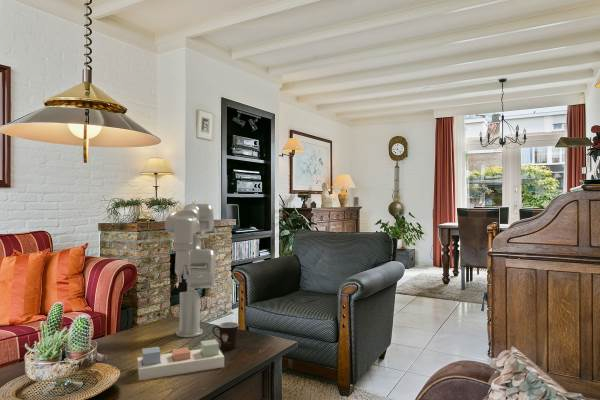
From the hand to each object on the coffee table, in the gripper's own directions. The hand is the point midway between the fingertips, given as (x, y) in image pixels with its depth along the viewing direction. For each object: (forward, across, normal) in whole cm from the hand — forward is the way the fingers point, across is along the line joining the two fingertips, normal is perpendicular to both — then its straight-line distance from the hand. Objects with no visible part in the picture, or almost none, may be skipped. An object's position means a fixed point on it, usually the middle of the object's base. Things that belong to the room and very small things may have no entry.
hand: (182, 291), depth 170 cm
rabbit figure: (+28, -10, -36) cm, 46 cm away
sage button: (+24, +11, +9) cm, 28 cm away
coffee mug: (+27, -5, +20) cm, 34 cm away
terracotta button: (+26, +11, -2) cm, 28 cm away
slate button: (+24, +11, -13) cm, 29 cm away
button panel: (+27, +11, -2) cm, 29 cm away
